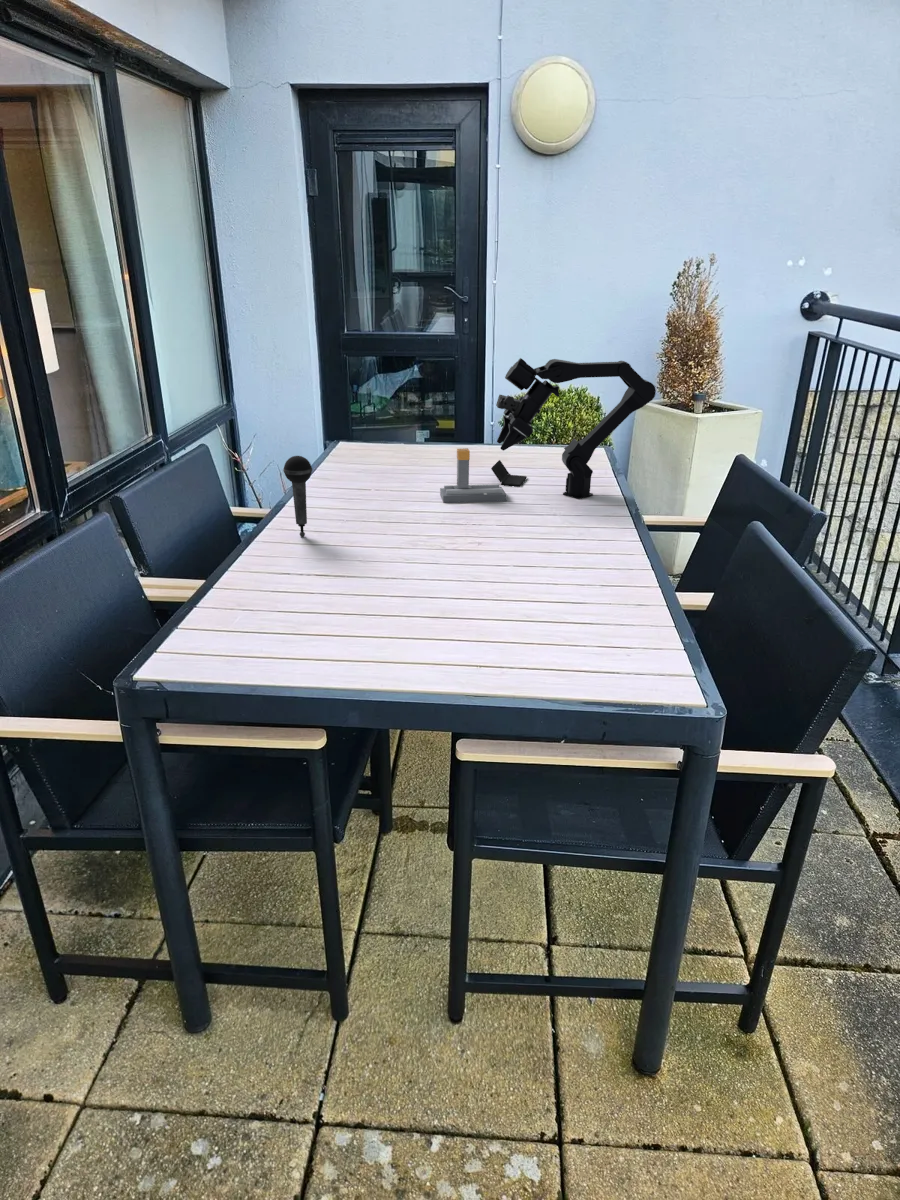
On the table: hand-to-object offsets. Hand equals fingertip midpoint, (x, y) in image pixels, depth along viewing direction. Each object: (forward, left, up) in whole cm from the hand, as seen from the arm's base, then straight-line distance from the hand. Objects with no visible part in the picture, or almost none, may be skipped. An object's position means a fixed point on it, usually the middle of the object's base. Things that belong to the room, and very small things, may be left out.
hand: (499, 446), depth 222 cm
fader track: (+3, +7, -14) cm, 16 cm away
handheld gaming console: (+9, -14, -15) cm, 23 cm away
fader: (+5, +10, -12) cm, 16 cm away
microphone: (+5, +63, -15) cm, 65 cm away
